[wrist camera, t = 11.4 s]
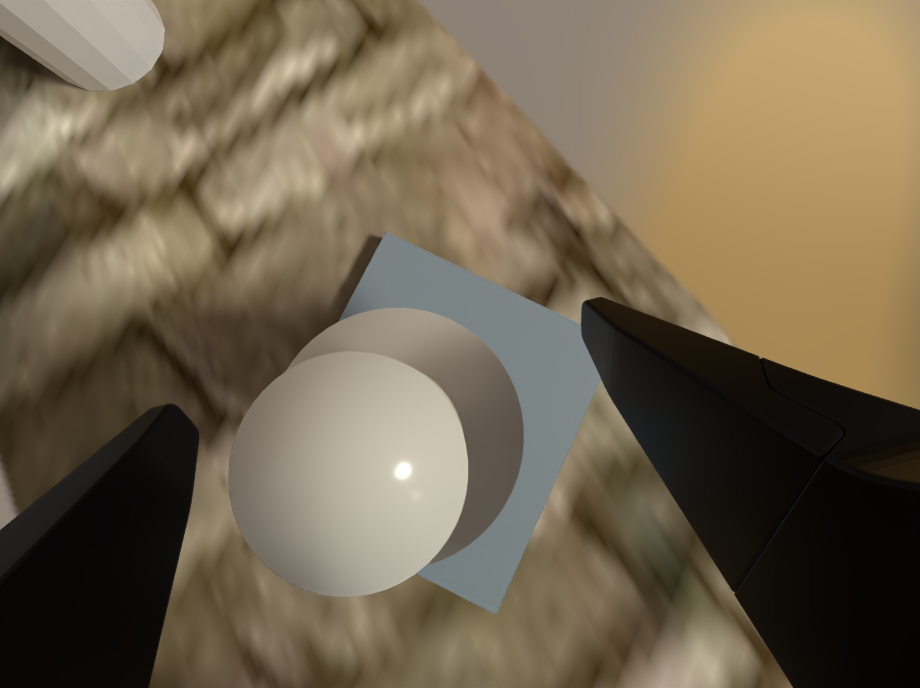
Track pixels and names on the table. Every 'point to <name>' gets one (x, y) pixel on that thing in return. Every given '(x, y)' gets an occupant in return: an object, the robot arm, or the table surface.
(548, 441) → the slate board
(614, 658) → the table surface
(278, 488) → the cream bottle
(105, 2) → the shot glass
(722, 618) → the table surface
